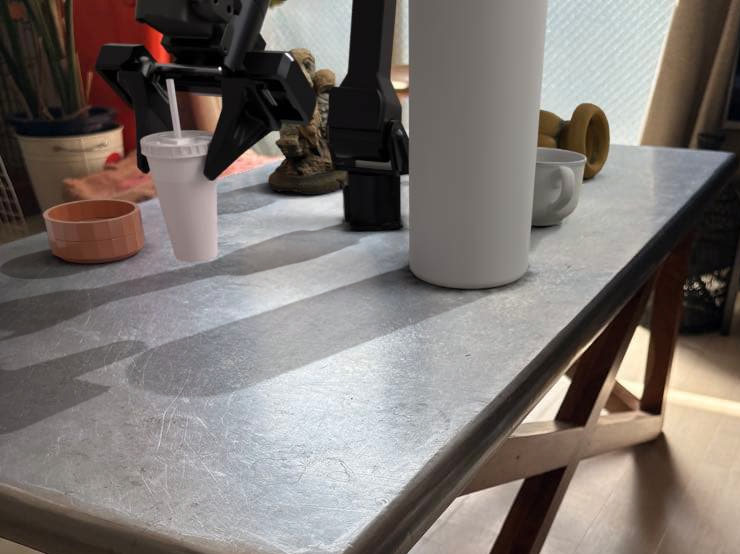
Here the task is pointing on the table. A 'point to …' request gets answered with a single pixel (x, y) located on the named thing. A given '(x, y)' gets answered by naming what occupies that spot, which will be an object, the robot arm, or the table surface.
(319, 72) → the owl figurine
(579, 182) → the teacup
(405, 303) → the table surface
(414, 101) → the cylinder vase
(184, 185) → the smoothie
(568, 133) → the brown looped sculpture
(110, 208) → the bowl
